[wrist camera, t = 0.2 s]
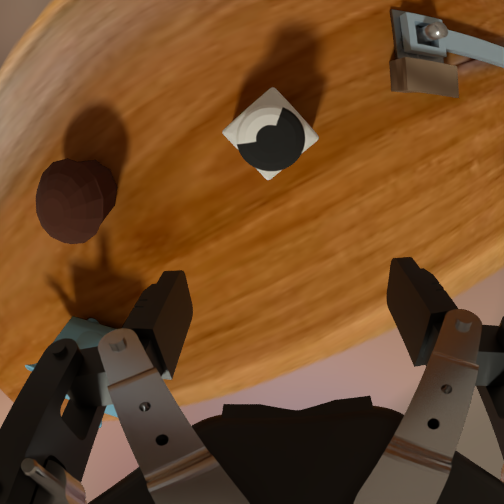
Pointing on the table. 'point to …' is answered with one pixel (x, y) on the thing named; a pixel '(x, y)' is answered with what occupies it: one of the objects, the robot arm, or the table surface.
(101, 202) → the muffin
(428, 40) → the pintle block
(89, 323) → the teakettle
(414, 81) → the block
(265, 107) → the medicine bottle
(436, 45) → the link
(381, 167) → the table surface
